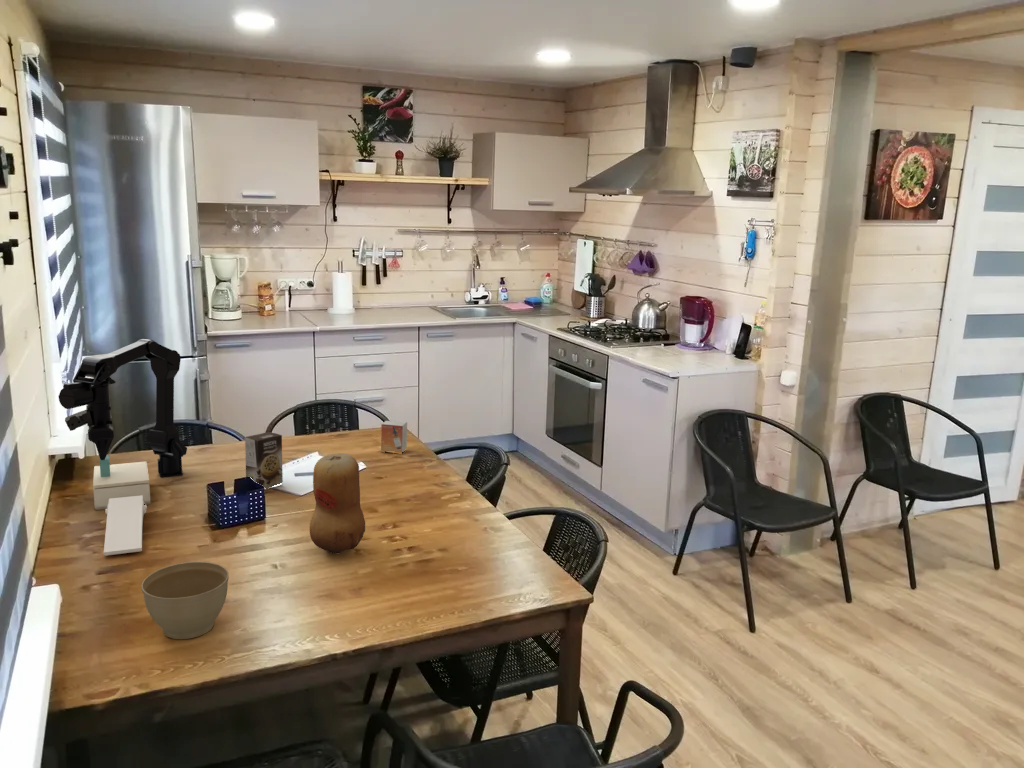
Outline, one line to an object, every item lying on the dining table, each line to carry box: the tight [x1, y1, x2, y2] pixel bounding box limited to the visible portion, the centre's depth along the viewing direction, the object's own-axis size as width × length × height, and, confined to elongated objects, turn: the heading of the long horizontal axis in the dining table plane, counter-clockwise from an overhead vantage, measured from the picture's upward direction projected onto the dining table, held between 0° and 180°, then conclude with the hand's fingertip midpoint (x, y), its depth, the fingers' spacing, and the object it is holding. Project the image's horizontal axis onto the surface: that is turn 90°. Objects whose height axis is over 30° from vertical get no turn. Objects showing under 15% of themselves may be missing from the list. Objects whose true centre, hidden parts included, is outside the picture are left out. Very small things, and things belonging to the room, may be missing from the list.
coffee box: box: [244, 431, 284, 490], centre depth 243 cm, size 9×6×16 cm
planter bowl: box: [140, 561, 230, 640], centre depth 161 cm, size 16×16×11 cm
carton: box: [92, 482, 151, 511], centre depth 231 cm, size 14×18×6 cm
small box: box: [380, 420, 408, 452], centre depth 283 cm, size 8×6×10 cm
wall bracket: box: [103, 495, 148, 556], centre depth 206 cm, size 10×7×28 cm
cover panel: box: [92, 454, 150, 489], centre depth 230 cm, size 14×18×6 cm
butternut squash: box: [309, 452, 366, 554], centre depth 198 cm, size 14×13×25 cm
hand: (102, 455), depth 227 cm, fingers open, 9 cm apart
